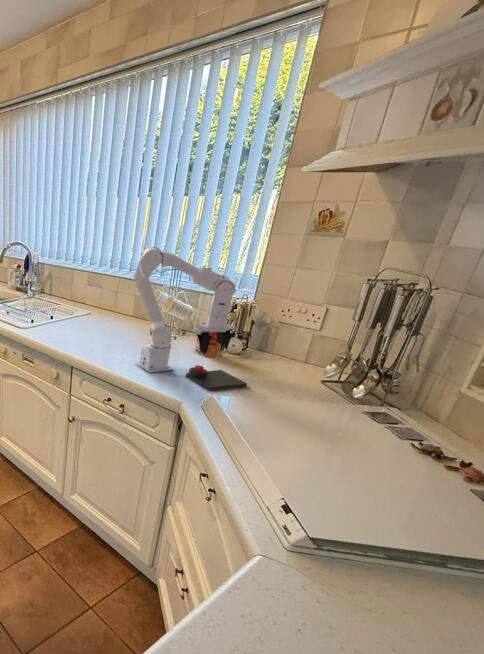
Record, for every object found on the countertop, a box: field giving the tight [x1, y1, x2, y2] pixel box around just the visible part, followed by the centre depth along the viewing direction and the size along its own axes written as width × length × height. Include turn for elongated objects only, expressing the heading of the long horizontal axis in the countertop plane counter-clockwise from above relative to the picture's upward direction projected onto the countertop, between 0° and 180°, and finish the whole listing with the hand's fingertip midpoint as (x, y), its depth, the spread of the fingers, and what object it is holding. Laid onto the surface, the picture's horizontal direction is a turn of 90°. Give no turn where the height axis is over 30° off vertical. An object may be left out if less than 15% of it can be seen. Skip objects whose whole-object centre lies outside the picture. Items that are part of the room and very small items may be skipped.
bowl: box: [200, 341, 221, 359], centre depth 139 cm, size 5×5×4 cm
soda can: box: [194, 322, 216, 355], centre depth 160 cm, size 7×7×12 cm
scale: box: [185, 366, 248, 392], centre depth 136 cm, size 14×13×3 cm
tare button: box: [194, 364, 205, 372], centre depth 137 cm, size 3×3×2 cm
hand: (210, 351), depth 139 cm, fingers closed on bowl, 5 cm apart
